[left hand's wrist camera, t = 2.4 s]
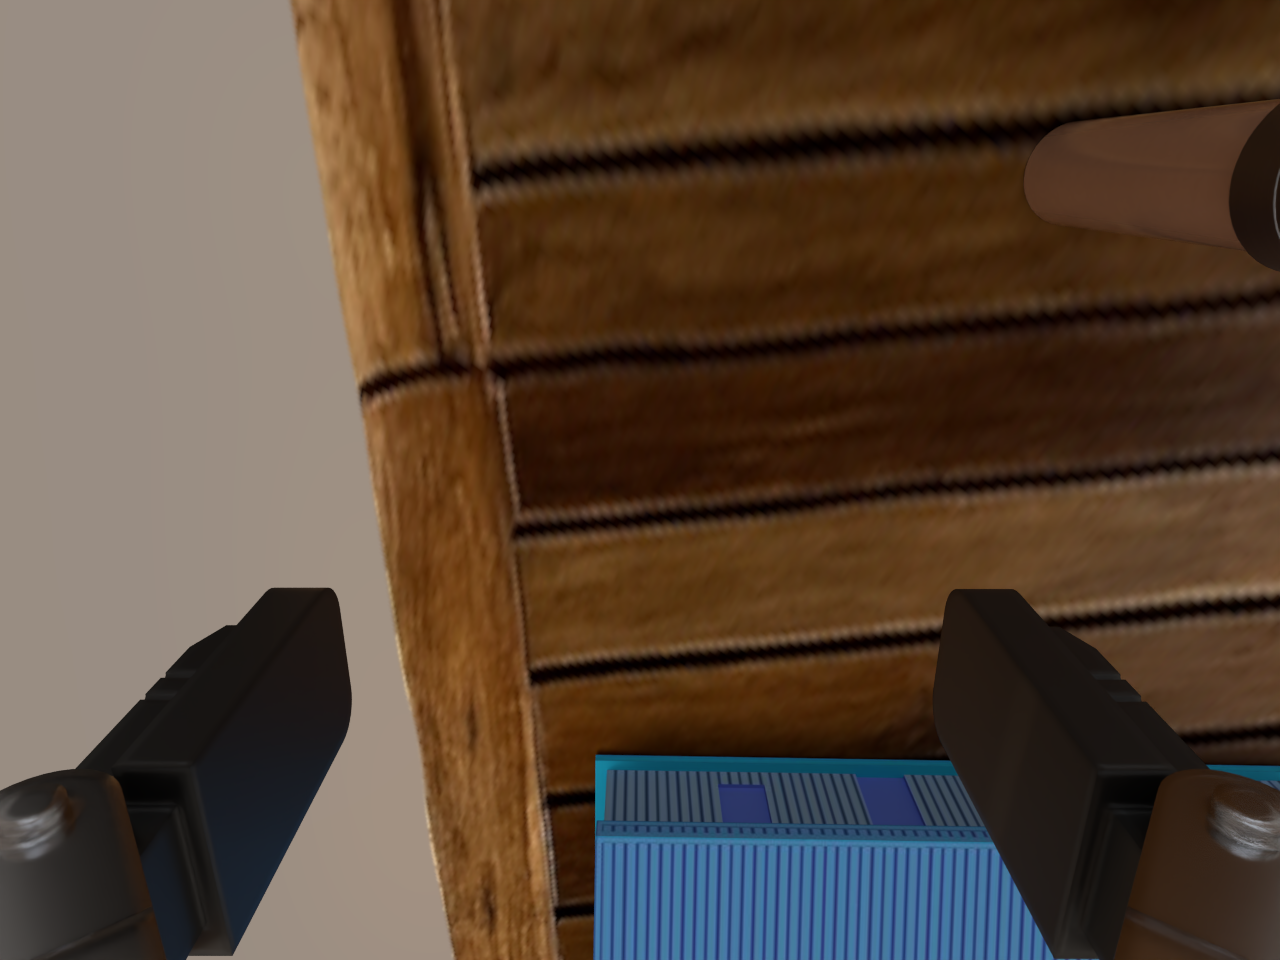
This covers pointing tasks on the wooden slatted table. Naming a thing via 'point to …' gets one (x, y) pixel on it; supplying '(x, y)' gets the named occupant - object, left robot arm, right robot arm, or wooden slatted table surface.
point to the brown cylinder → (1145, 173)
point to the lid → (1259, 193)
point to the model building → (803, 862)
